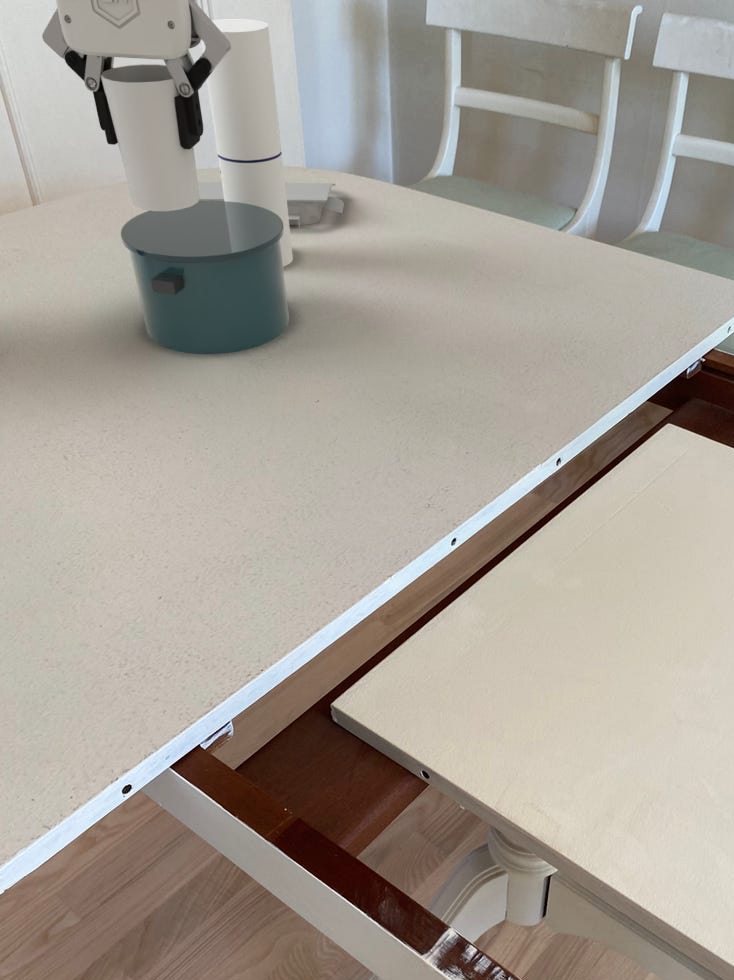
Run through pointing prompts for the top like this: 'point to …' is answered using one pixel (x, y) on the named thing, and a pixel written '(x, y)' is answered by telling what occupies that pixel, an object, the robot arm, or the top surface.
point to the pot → (209, 276)
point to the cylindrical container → (249, 122)
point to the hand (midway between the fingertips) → (154, 140)
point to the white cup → (150, 137)
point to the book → (289, 200)
